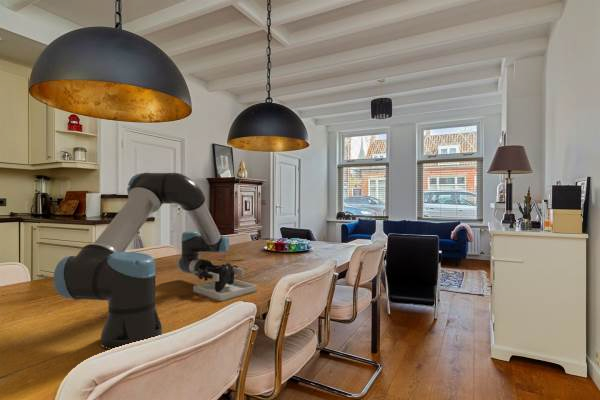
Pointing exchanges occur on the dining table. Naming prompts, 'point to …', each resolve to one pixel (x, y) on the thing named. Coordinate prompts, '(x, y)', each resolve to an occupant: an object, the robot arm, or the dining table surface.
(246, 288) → the tray
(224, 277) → the gaming controller
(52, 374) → the dining table surface
